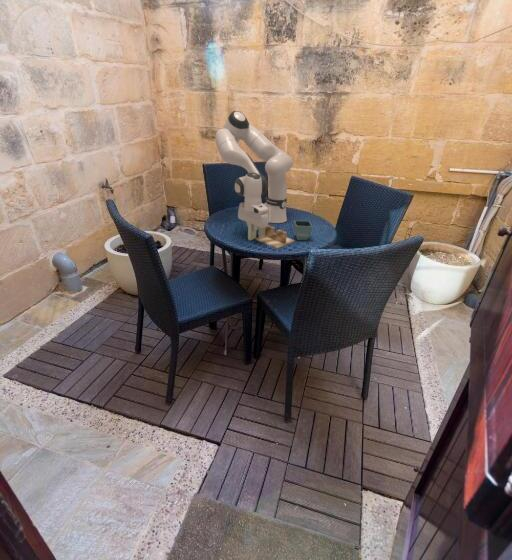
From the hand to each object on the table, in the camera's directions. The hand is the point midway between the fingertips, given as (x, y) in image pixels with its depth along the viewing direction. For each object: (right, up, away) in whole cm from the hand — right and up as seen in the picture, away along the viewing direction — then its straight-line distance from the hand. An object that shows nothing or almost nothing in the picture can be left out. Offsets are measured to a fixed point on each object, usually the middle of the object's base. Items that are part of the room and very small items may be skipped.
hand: (252, 231), depth 172 cm
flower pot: (+27, -4, +5) cm, 28 cm away
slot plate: (+3, -3, +5) cm, 6 cm away
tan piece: (+13, -5, +1) cm, 14 cm away
